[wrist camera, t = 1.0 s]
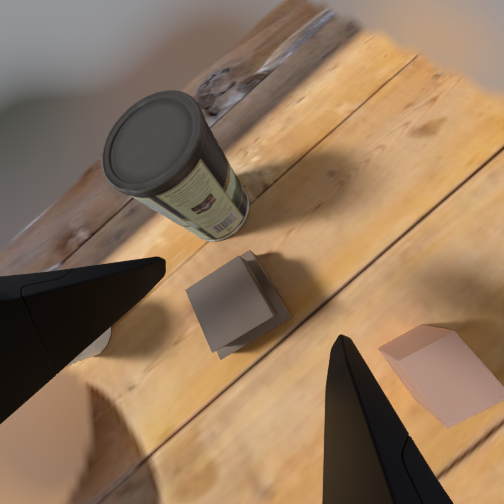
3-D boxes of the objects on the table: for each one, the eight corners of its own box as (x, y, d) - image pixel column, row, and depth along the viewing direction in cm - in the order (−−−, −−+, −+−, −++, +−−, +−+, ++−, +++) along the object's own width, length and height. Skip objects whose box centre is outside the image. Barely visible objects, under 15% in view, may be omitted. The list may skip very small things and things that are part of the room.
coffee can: (207, 171, 32) (140, 81, 19) (262, 192, 29) (225, 99, 16) (175, 226, 32) (81, 171, 18) (227, 253, 28) (157, 210, 15)
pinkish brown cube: (461, 373, 19) (512, 396, 14) (413, 397, 19) (447, 428, 15) (420, 324, 21) (454, 330, 16) (377, 348, 21) (398, 361, 16)
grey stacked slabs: (292, 316, 24) (288, 320, 18) (230, 353, 25) (208, 368, 19) (255, 255, 27) (242, 242, 21) (201, 290, 28) (174, 286, 22)
